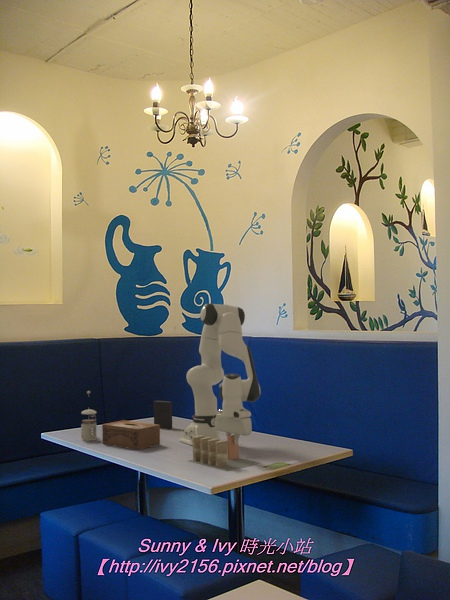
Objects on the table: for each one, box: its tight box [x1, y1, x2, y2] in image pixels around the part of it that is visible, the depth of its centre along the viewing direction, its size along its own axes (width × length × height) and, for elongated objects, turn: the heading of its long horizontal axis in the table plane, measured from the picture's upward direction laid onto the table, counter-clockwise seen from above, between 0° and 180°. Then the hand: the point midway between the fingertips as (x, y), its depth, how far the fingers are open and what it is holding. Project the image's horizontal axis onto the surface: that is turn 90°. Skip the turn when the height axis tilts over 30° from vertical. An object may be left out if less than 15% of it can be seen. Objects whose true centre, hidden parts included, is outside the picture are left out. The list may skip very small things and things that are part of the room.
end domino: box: [226, 434, 240, 460], centre depth 277 cm, size 2×5×10 cm, turn 132°
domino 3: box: [208, 439, 219, 465], centre depth 268 cm, size 2×5×10 cm, turn 132°
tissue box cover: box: [101, 419, 161, 450], centre depth 316 cm, size 26×14×10 cm, turn 52°
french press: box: [79, 390, 99, 442], centre depth 333 cm, size 10×12×25 cm
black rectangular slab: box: [152, 400, 173, 430], centre depth 362 cm, size 11×4×15 cm, turn 58°
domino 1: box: [192, 436, 204, 461], centre depth 276 cm, size 2×5×10 cm, turn 132°
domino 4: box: [216, 439, 228, 467], centre depth 264 cm, size 2×5×10 cm, turn 132°
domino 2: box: [200, 437, 212, 463], centre depth 272 cm, size 2×5×10 cm, turn 132°
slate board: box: [188, 454, 262, 472], centre depth 271 cm, size 26×20×1 cm
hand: (232, 443), depth 277 cm, fingers closed on end domino, 2 cm apart
